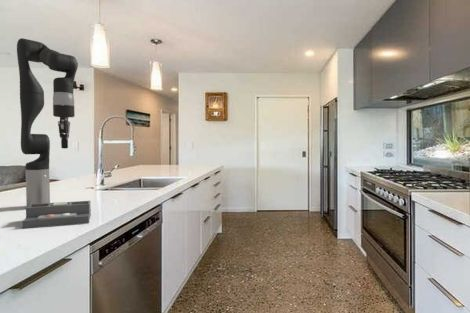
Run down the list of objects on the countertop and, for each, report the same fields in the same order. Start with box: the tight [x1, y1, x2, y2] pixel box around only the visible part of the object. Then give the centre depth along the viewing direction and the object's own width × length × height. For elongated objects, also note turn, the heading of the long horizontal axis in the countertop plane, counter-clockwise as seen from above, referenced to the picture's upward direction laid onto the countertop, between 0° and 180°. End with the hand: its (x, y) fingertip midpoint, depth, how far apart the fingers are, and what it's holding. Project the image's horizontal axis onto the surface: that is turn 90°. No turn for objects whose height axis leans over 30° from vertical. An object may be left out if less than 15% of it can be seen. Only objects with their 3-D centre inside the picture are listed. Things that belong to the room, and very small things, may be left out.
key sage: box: [52, 201, 69, 206], centre depth 122 cm, size 5×5×2 cm
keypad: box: [22, 200, 92, 229], centre depth 120 cm, size 14×21×6 cm
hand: (64, 148), depth 129 cm, fingers closed
